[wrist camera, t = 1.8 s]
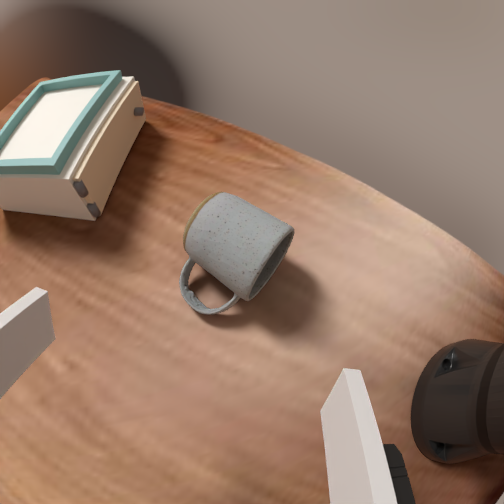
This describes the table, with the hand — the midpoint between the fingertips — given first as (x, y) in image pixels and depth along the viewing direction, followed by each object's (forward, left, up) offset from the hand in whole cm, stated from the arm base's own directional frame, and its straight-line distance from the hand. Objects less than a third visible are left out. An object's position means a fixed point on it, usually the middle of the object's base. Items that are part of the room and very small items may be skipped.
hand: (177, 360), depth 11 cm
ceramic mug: (-1, -10, -16) cm, 19 cm away
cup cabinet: (+25, -23, -16) cm, 37 cm away
